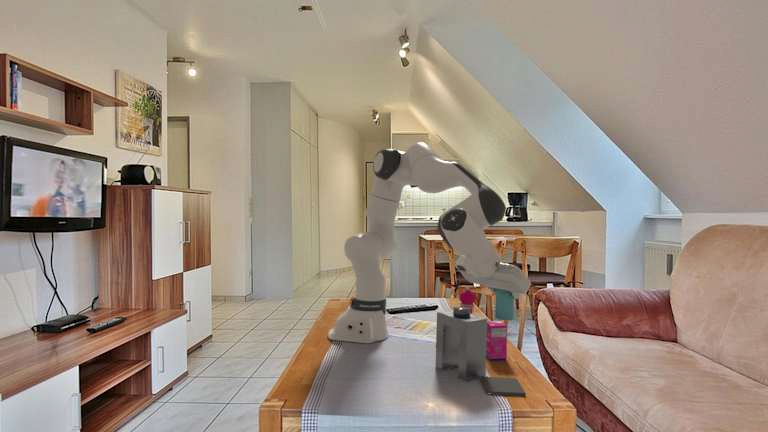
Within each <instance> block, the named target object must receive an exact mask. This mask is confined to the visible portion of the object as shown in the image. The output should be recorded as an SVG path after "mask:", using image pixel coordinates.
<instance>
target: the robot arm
mask: <svg viewBox="0 0 768 432" xmlns="http://www.w3.org/2000/svg"><path fill="white" fill-rule="evenodd" d="M372 169H373V172H374V175H375V176H376V177H375V179H374V182H373V184H372V186H371V191H370V195H369V198H368V202H367V205H366V209H365V216H366V218H367V220H368V230H367V232H359V233H356V234H354V235H352V236H350V237H349V238H347V240H346V241H345V244H344V254H345V256H346V258H347V259H348V260H349V261H350V263H351V264H352V267H353V271H354V274H355V296H351V297H350V298H349V308H347V310H345V311H343V313H341V314H340V315H338V316H337V318H336V320H335V322H334V327H332V328H331V329H330V330H328V334H327V337H328V339H329V340H332V341H340V342H351V343H361V344H372V343H374V342H379V341H383V340H386V339H387V338H389V332H388V328H387V327H388V326H387V319H386V313H387V298H386V282H387V280H386V277H385V275H384V274H383V273H382V271H381V267H380V261H384V260H387V259H388V258H390V257H391V256H393V255H394V254H395V253H396V251H397V249H398V243H397V239H396V238H395V220H396V216H397V212H398V208H399V204H400V201H401V197H402V194H403V193H402V192H403V189H404V188H405V187H406V186H410V188H411V189H413V188H418V189H420V191H421V192H425V193H427V194H439V193H441V192H445V191H447V190H450V189H454V188H458V187H463V188H465V189H466V190H467V191H468V192H469V193H470V194H471V195H469V196H468V197H466V198H465V199H463V200H462V201H460V202H459V203H457V204H455V205H454V206H452V207H450V208H448V209H447V210H446V211H445V212H443V213H442V214H441V215H439V217H438V221H437V226H436V228H437V231H438V233H439V235H440V237H441V238H442V240H443V241H444V242H445V244H446V245H447V246H448V248H450V249H452V250H453V251H454V252H455V253H456V254H458V256H459V257H458V259H457V260H456V262H455V263H454V267H455V268H456V269H457V270H458V271H459V273H460V274H461V275H462V276H463V277H464V278H465V279H466V281H467V282H469V283H471V284H475V285H476V284H477V285H480V286H485V288H487V289H488V290H490V291H491V292H492V293H493V294H494V295H496V288H498V289H502V290H507V291H510V292H511V293H510V296H511V297H512V298H514V299H515V300H518V299H519V297H520V295H521V294H522V295H526V294H527V292H528V291H529V290H530V287H532V286H531V285H532V281H531V280H530V278H529V277H528V276H527V274H525V272H524V271H523V270H522V269H521V268H520V267H519V266H517V265H514V264H510V263H504V262H502V256H501V255H500V253H499V252H498V250H497V248H496V247H495V246H494V245H493V243H492V242H491V240H489V239H488V238H487V235H486V233H485V231H484V230H485V229H487V228H489V227H490V226H494V225H495V224H498V223H499V222H502V221H503V219H504V216H505V214H506V210H507V205H506V204H505V202H504V200H503V198H502V197H501V195H500V194H499V193H498V192H496V191H495V190H493V189H492V188H491V187H490V186H488V185H486V184H485V183H483V182H482V180H480V179H479V178H478V177H476V176H475V175H474V174H473V173H472V172H470V170H468V169H467V168H465V166H463V165H461V164H460V163H459V162H457V161H445V160H443V159H442V158H441V156H440V155H439V154H438V152H437V151H436V150H435V149H433V147H432V146H430V145H428V143H425V142H416V143H413V144H411V146H410V147H409V148H407V150H406V152H405V151H401V150H398V149H394V148H393V149H392V148H384V149H381V150H380V151H378V152H377V153H376V155H375V157H374V159H373V165H372Z"/></svg>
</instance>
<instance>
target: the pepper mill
mask: <svg viewBox="0 0 768 432" xmlns="http://www.w3.org/2000/svg"><path fill="white" fill-rule="evenodd" d="M458 297H459V301H460V306H459V307H467V308H470V313H471V314H473V310H474V308H475V301H476V298H477V296H476V293H475V292H474V291H472V290H471V287H470V286H469V285H468V286H465V289H464V290H462V291H461V292H460V293H459V296H458Z"/></svg>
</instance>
